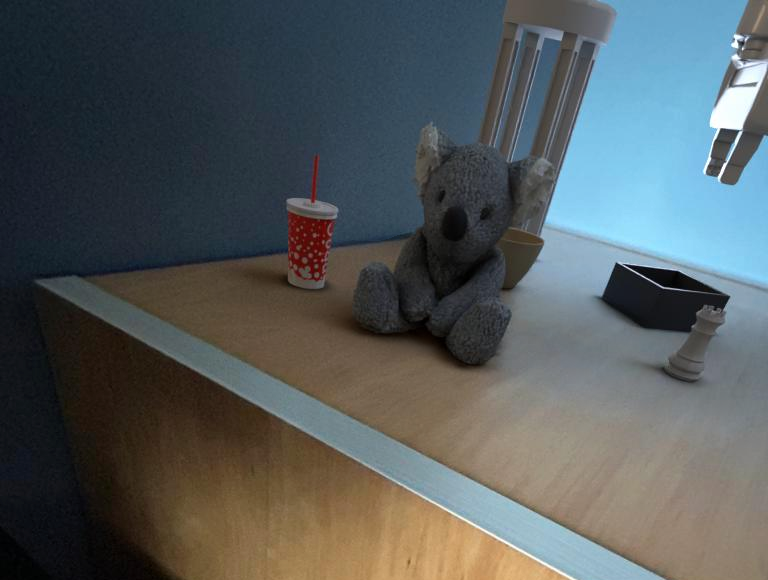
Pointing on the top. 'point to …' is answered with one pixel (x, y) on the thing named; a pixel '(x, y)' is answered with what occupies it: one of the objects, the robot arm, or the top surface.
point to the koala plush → (455, 247)
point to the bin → (660, 296)
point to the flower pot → (518, 254)
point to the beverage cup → (309, 238)
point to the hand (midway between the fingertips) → (717, 179)
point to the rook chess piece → (695, 346)
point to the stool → (572, 27)
